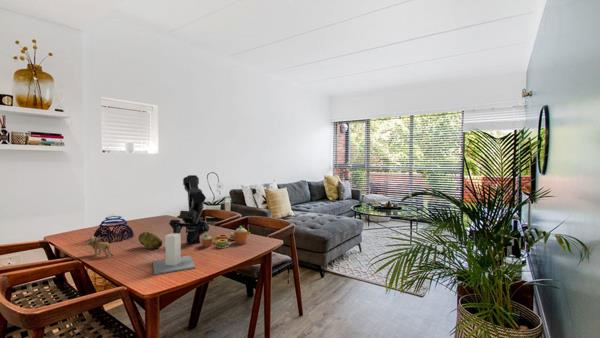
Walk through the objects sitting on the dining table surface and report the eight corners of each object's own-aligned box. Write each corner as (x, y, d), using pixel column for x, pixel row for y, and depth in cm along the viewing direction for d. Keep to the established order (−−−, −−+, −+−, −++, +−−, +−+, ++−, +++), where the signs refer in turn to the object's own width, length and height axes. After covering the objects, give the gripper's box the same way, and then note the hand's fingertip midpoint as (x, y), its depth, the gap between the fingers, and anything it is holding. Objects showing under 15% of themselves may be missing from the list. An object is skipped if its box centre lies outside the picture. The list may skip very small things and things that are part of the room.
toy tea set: (237, 236, 181) (237, 221, 181) (253, 242, 171) (253, 225, 170) (197, 245, 163) (197, 228, 162) (211, 252, 152) (211, 233, 151)
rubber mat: (190, 257, 144) (190, 255, 144) (195, 268, 130) (195, 266, 130) (153, 262, 136) (153, 260, 136) (154, 274, 122) (154, 272, 122)
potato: (148, 251, 151) (148, 236, 151) (136, 247, 158) (135, 232, 158) (164, 247, 158) (164, 232, 158) (151, 243, 165) (151, 229, 165)
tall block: (171, 261, 136) (171, 233, 135) (180, 262, 135) (180, 233, 134) (165, 264, 131) (165, 235, 131) (174, 265, 130) (174, 236, 130)
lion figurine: (84, 255, 145) (84, 237, 144) (94, 252, 150) (94, 234, 149) (109, 258, 141) (108, 239, 141) (118, 255, 146) (118, 236, 146)
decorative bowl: (110, 233, 187) (110, 210, 186) (140, 234, 185) (140, 211, 184) (84, 242, 167) (83, 217, 166) (117, 243, 165) (116, 218, 164)
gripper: (171, 203, 146) (156, 231, 136) (206, 204, 143) (194, 233, 132) (180, 215, 154) (167, 243, 144) (214, 217, 151) (203, 245, 140)
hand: (182, 241), depth 140 cm, fingers open, 9 cm apart
